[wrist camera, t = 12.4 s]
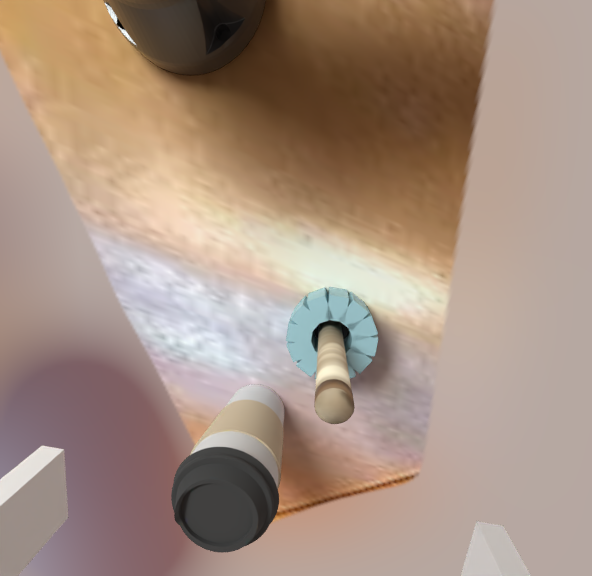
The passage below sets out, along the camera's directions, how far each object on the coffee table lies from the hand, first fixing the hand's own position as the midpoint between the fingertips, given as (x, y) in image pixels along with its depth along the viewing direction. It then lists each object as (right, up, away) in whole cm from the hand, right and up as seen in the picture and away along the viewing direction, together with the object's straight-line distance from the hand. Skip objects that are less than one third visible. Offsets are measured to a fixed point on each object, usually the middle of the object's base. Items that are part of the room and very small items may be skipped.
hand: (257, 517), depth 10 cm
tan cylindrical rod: (+5, +3, +26) cm, 27 cm away
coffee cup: (-4, -8, +29) cm, 31 cm away
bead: (+5, +3, +26) cm, 27 cm away
